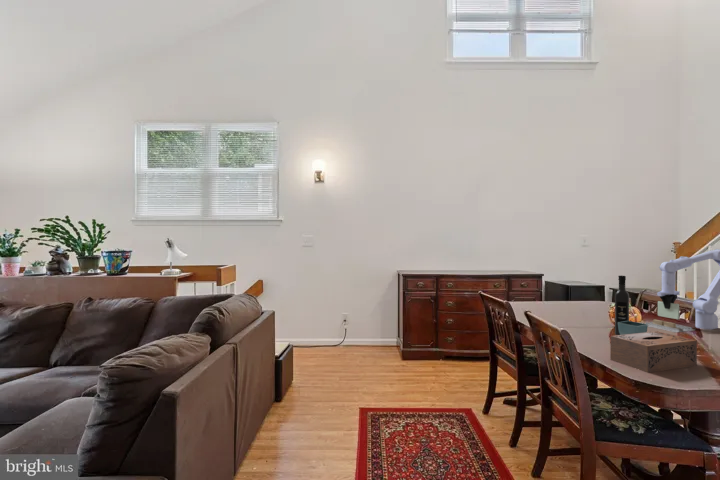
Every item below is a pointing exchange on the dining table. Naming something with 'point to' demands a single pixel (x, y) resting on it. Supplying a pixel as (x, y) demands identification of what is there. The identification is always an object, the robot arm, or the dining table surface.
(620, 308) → the wine bottle
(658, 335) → the tissue box cover
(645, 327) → the flower pot
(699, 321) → the robot arm
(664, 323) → the oak offcut
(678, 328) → the slot rack
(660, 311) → the sage panel
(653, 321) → the oak offcut
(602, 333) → the dining table surface
